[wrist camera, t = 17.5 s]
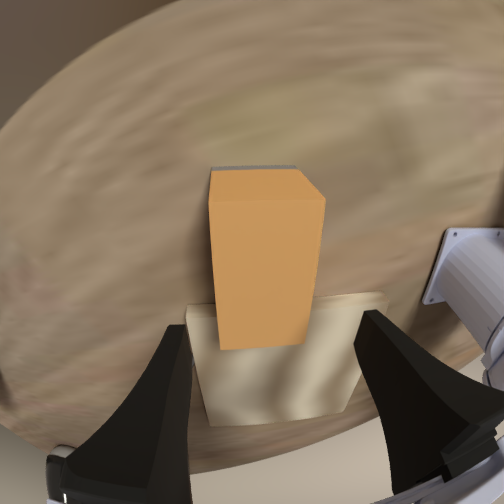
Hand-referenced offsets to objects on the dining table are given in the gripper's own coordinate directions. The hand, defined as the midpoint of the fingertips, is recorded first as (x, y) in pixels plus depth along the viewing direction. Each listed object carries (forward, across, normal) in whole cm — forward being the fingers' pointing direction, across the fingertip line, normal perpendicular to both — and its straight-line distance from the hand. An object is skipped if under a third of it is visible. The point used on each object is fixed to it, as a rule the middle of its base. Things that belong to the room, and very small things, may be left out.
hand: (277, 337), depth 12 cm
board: (+9, -3, +15) cm, 18 cm away
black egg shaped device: (+10, +34, +44) cm, 56 cm away
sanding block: (+10, 0, 0) cm, 10 cm away
